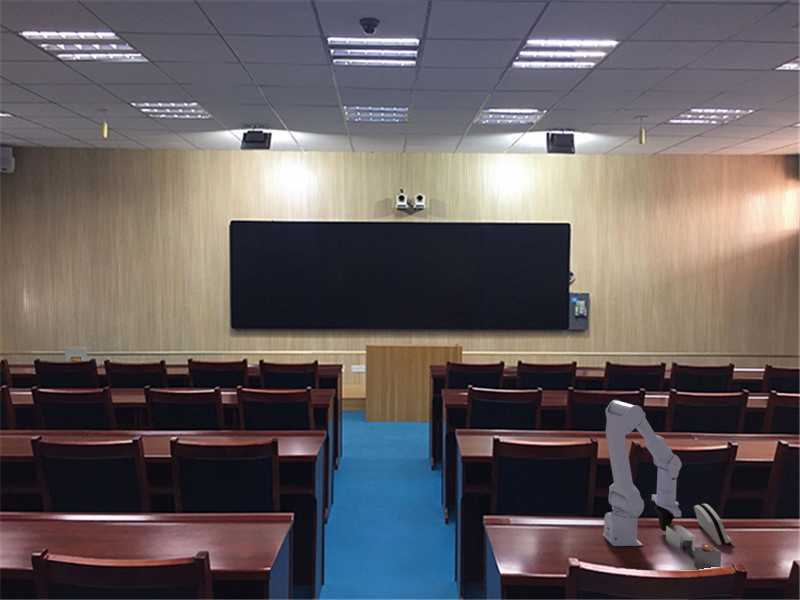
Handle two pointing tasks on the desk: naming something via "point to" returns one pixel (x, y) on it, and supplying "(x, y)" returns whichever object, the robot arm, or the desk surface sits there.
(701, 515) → the grey black curved block
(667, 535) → the lock
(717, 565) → the coupler
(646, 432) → the robot arm
